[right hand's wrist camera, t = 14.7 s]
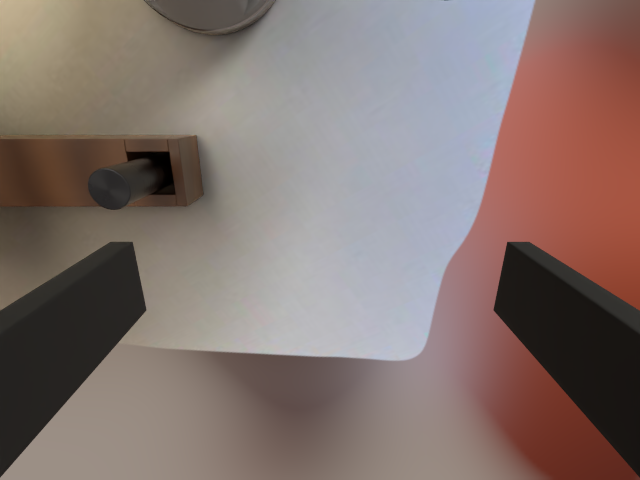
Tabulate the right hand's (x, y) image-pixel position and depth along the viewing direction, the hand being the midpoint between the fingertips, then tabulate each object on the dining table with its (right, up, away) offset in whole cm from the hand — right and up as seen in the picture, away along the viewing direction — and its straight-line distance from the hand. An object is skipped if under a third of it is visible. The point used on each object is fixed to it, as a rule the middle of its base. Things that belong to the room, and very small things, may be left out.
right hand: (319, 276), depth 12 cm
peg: (-16, +9, +25) cm, 31 cm away
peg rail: (-26, +9, +25) cm, 37 cm away
